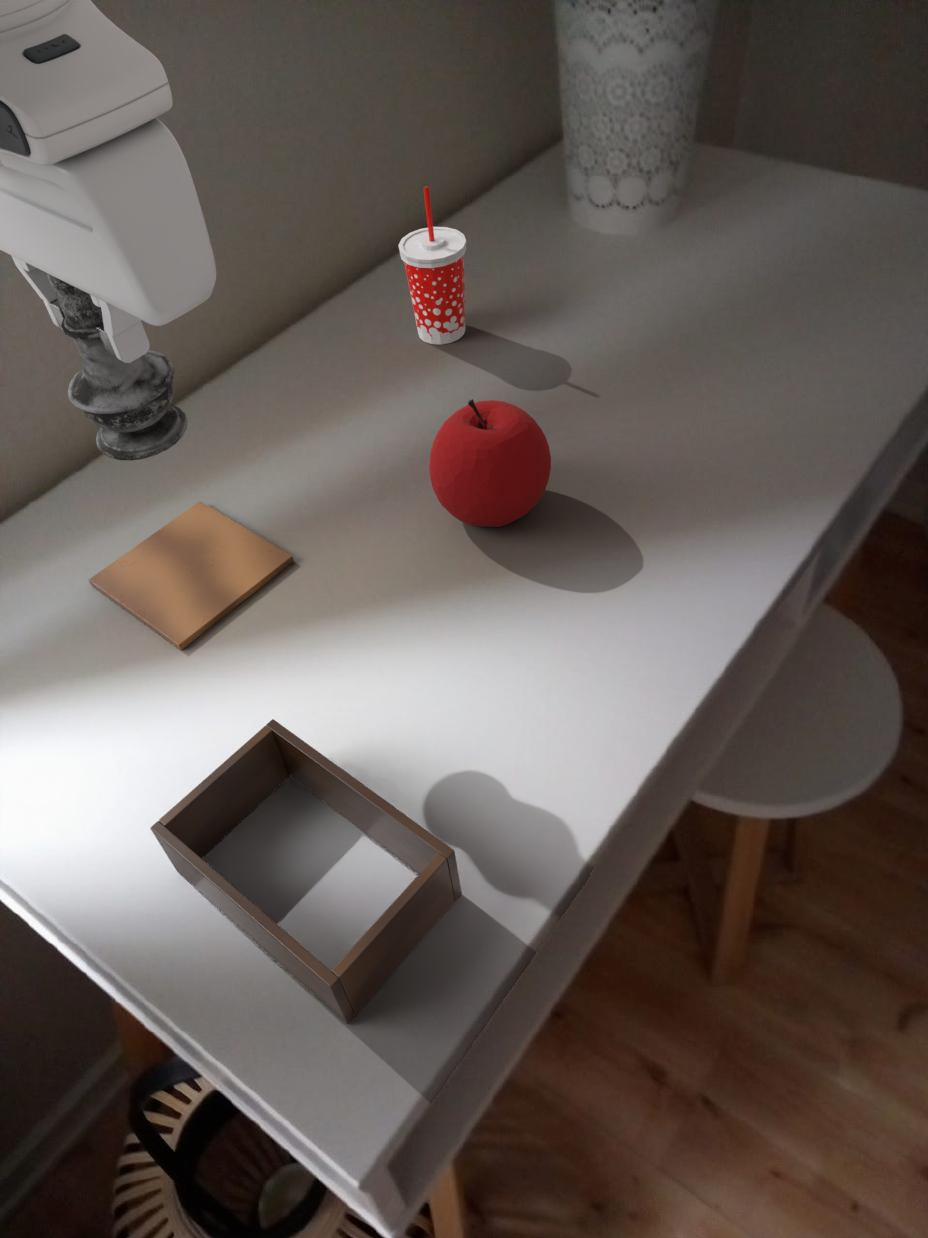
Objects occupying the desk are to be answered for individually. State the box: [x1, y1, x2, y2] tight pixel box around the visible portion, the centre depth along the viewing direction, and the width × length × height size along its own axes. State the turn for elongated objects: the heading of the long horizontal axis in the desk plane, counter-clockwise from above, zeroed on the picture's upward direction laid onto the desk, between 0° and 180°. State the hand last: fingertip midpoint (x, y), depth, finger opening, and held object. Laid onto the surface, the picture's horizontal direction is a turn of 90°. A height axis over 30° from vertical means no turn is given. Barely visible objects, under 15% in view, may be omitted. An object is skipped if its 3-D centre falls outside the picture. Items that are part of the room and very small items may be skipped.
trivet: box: [88, 500, 294, 651], centre depth 74 cm, size 11×11×1 cm
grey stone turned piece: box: [47, 273, 189, 462], centre depth 52 cm, size 6×6×12 cm
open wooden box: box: [150, 718, 463, 1025], centre depth 54 cm, size 9×14×5 cm, turn 50°
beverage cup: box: [397, 185, 467, 346], centre depth 89 cm, size 6×6×14 cm
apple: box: [428, 398, 552, 528], centre depth 72 cm, size 9×9×10 cm
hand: (103, 339), depth 52 cm, fingers closed on grey stone turned piece, 3 cm apart
